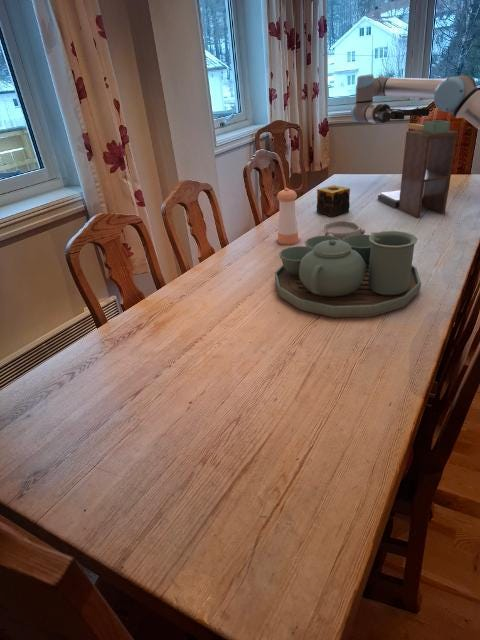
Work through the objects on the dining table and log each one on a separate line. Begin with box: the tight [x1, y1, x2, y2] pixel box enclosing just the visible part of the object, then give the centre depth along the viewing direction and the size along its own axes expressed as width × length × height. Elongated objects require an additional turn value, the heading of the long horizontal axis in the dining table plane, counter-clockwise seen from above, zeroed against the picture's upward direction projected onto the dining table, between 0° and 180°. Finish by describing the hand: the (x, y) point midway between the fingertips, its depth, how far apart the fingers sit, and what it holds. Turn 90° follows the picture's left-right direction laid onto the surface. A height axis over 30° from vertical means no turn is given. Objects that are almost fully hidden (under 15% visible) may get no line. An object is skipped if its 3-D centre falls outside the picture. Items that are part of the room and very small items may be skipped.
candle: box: [316, 184, 351, 218], centre depth 181 cm, size 10×10×10 cm
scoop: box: [406, 119, 451, 134], centre depth 163 cm, size 21×6×4 cm, turn 13°
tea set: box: [274, 230, 422, 318], centre depth 119 cm, size 40×40×16 cm
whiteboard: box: [377, 189, 423, 209], centre depth 187 cm, size 15×14×3 cm
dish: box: [322, 220, 366, 241], centre depth 153 cm, size 14×14×5 cm
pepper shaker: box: [276, 187, 299, 245], centre depth 153 cm, size 7×7×19 cm
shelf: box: [398, 129, 459, 218], centre depth 168 cm, size 14×12×30 cm
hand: (416, 113), depth 174 cm, fingers open, 13 cm apart
